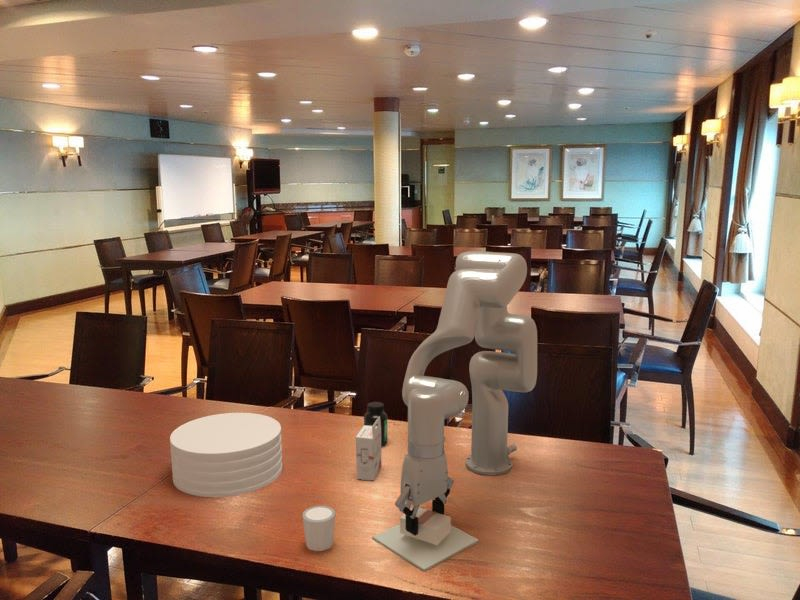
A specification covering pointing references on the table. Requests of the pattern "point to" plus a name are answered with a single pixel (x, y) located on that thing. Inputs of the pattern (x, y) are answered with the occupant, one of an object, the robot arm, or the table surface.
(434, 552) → the mat
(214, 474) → the plate stack
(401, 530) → the card box
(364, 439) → the ink cartridge box
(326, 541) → the shot glass
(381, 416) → the supplement bottle
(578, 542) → the table surface
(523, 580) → the table surface
